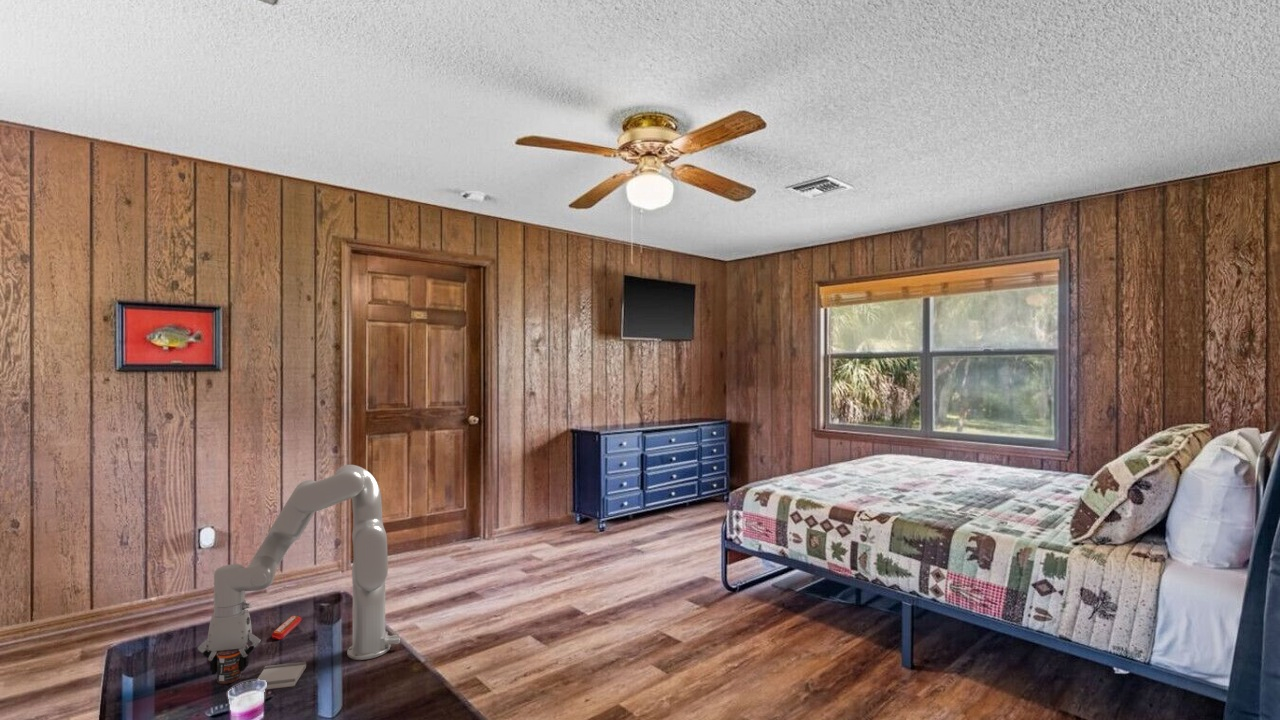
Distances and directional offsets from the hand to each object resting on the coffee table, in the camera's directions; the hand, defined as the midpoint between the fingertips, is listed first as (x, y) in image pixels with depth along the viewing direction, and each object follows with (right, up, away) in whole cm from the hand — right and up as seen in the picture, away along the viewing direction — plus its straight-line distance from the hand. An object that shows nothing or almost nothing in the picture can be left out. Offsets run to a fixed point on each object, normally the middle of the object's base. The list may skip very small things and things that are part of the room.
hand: (229, 670), depth 176 cm
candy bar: (-2, -3, +32) cm, 33 cm away
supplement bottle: (0, -3, 0) cm, 3 cm away
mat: (+14, -3, 0) cm, 15 cm away
